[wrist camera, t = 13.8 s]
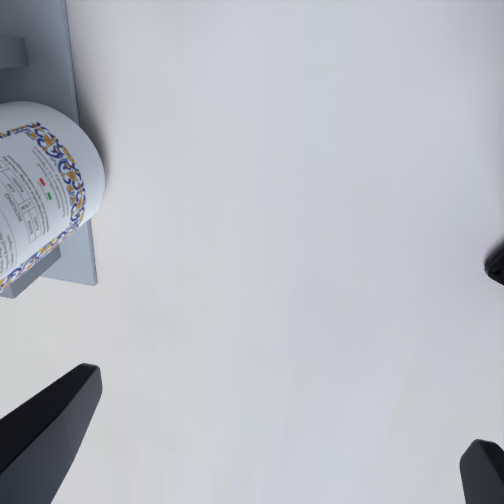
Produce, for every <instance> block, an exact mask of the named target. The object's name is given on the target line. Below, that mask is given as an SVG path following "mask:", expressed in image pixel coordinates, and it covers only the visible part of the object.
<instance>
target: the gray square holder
mask: <svg viewBox="0 0 504 504" xmlns="http://www.w3.org/2000/svg"><path fill="white" fill-rule="evenodd" d="M15 101H29V102H36V103H40V104H43V105H46V106H49V107H51V108H53V109H55V110H57V111H59V112H61V113H62V114H64V115H66V116H67V117H68V118H70V119H71V120H72V121H73V122H75V123H76V124H77V125H78V126H79V118H78V110H77V101H76V92H75V83H74V74H73V66H72V57H71V48H70V39H69V31H68V22H67V13H66V4H65V0H0V104H3V103H8V102H15ZM39 276H42V277H47V278H52V279H58V280H63V281H69V282H74V283H79V284H85V285H90V286H95V285H96V284H97V277H96V268H95V259H94V250H93V241H92V233H91V224H90V219H89V220H87V221H86V222H85V223H84V224H83V225H81V226H80V227H79V228H78V229H77V230H75V231H74V232H73V233H72V234H71V235H70V236H69V237H67V238H66V239H65V240H64V241H63V242H61V243H60V244H59V245H58V246H56V247H55V248H54V249H53V250H52V251H50V252H49V253H48V254H47V255H46V256H44V257H43V258H42V259H41V260H40V261H38V262H37V263H36V264H35V265H33V266H32V267H31V268H30V269H29V270H27V271H26V272H25V273H24V274H23V275H21V276H20V277H19V278H18V279H17V280H15V281H14V282H13V283H12V284H10V285H9V286H8V287H7V288H6V289H4V290H3V291H2V292H1V293H0V296H2V297H7V298H12V299H14V298H15V297H17V296H18V295H19V294H20V293H21V292H22V291H23V290H24V289H26V288H27V287H28V286H29V285H30V284H31V283H32V282H34V281H35V280H36V279H37V278H38V277H39Z"/></svg>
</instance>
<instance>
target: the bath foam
mask: <svg viewBox="0 0 504 504" xmlns="http://www.w3.org/2000/svg"><path fill="white" fill-rule="evenodd" d="M104 190H105V173H104V168H103V164H102V161H101V159H100V156H99V154H98V152H97V150H96V148H95V146H94V145H93V143H92V142H91V140H90V139H89V137H88V136H87V135H86V134H85V132H84V131H83V130H82V129H81V128H80V127H79V126H78V125H77V124H76V123H75V122H73V121H72V120H71V119H70V118H68V117H67V116H66V115H64V114H62V113H61V112H59V111H57V110H55V109H53V108H51V107H49V106H46V105H43V104H40V103H36V102H29V101H15V102H8V103H3V104H0V293H1V292H2V291H3V290H4V289H6V288H7V287H8V286H9V285H10V284H12V283H13V282H14V281H15V280H17V279H18V278H19V277H20V276H21V275H23V274H24V273H25V272H26V271H27V270H29V269H30V268H31V267H32V266H33V265H35V264H36V263H37V262H38V261H40V260H41V259H42V258H43V257H44V256H46V255H47V254H48V253H49V252H50V251H52V250H53V249H54V248H55V247H56V246H58V245H59V244H60V243H61V242H63V241H64V240H65V239H66V238H67V237H69V236H70V235H71V234H72V233H73V232H74V231H75V230H77V229H78V228H79V227H80V226H81V225H83V224H84V223H85V222H86V221H87V220H89V219H90V218H91V217H92V216H93V215H94V214H95V213H96V211H97V210H98V208H99V207H100V205H101V203H102V200H103V196H104Z"/></svg>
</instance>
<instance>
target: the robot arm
mask: <svg viewBox="0 0 504 504" xmlns="http://www.w3.org/2000/svg"><path fill="white" fill-rule="evenodd" d="M496 268H499V269H498V270H497V271H494V272H493V270H494V269H496ZM484 270H485V273H486V274H487V275H488V276H489V277H490V278H491V279H493V280H495V281H497V282H498V283H500V284H502V285H504V248H503V249H502V250H501V251H500V252H499V253H498V254H497V255H496V256H495V257H494V258H493V259H492V260H491V261H489V262H488V263H487V264H486V266H485V269H484ZM101 394H102V380H101V372H100V368H99V367H98V366H97V365H92V364H87V363H82V364H80V365H78V366H77V367H75V368H74V369H72V370H71V371H69V372H68V373H66V374H65V375H64V376H62V377H61V378H59V379H58V380H56V381H55V382H53V383H52V384H51V385H49V386H48V387H46V388H45V389H43V390H42V391H41V392H39V393H38V394H36V395H35V396H33V397H32V398H30V399H29V400H28V401H26V402H25V403H23V404H22V405H20V406H19V407H17V408H16V409H15V410H13V411H12V412H10V413H9V414H7V415H6V416H4V417H3V418H2V419H0V504H51V502H52V500H53V498H54V496H55V495H56V493H57V491H58V489H59V487H60V485H61V484H62V482H63V480H64V478H65V476H66V474H67V472H68V471H69V469H70V467H71V465H72V463H73V461H74V459H75V456H76V454H77V452H78V450H79V447H80V445H81V443H82V440H83V438H84V435H85V433H86V431H87V428H88V426H89V424H90V421H91V419H92V416H93V414H94V412H95V409H96V407H97V405H98V402H99V400H100V397H101ZM460 473H461V479H462V484H463V490H464V496H465V501H466V504H504V451H503V450H502V448H501V447H500V446H499V445H497V444H496V443H494V442H491V441H486V440H481V439H476V440H474V441H473V442H472V443H471V445H470V446H469V447H468V449H467V450H466V451H465V453H464V454H463V455H462V457H461V459H460Z"/></svg>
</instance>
